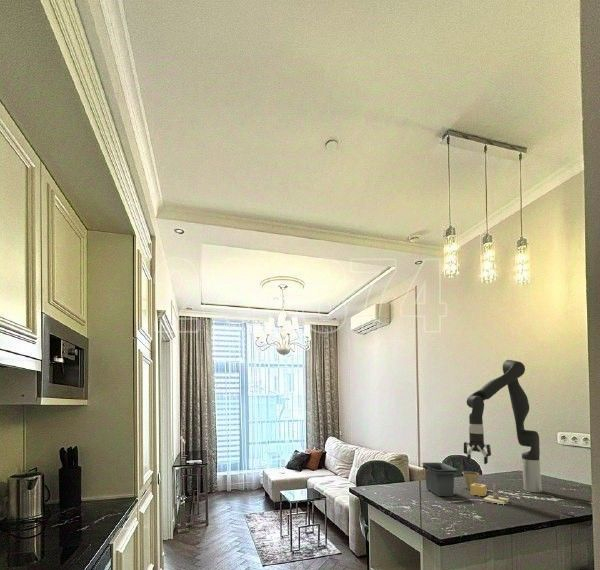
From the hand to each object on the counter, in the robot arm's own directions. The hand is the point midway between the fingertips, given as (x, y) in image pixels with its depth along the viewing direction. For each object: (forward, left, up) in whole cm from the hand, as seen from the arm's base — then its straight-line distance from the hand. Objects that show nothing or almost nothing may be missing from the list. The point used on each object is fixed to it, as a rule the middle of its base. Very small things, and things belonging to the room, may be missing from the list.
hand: (477, 463), depth 265 cm
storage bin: (+12, -18, -17) cm, 27 cm away
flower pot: (-12, -8, -17) cm, 22 cm away
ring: (0, 0, -17) cm, 17 cm away
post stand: (+9, +12, -17) cm, 22 cm away
